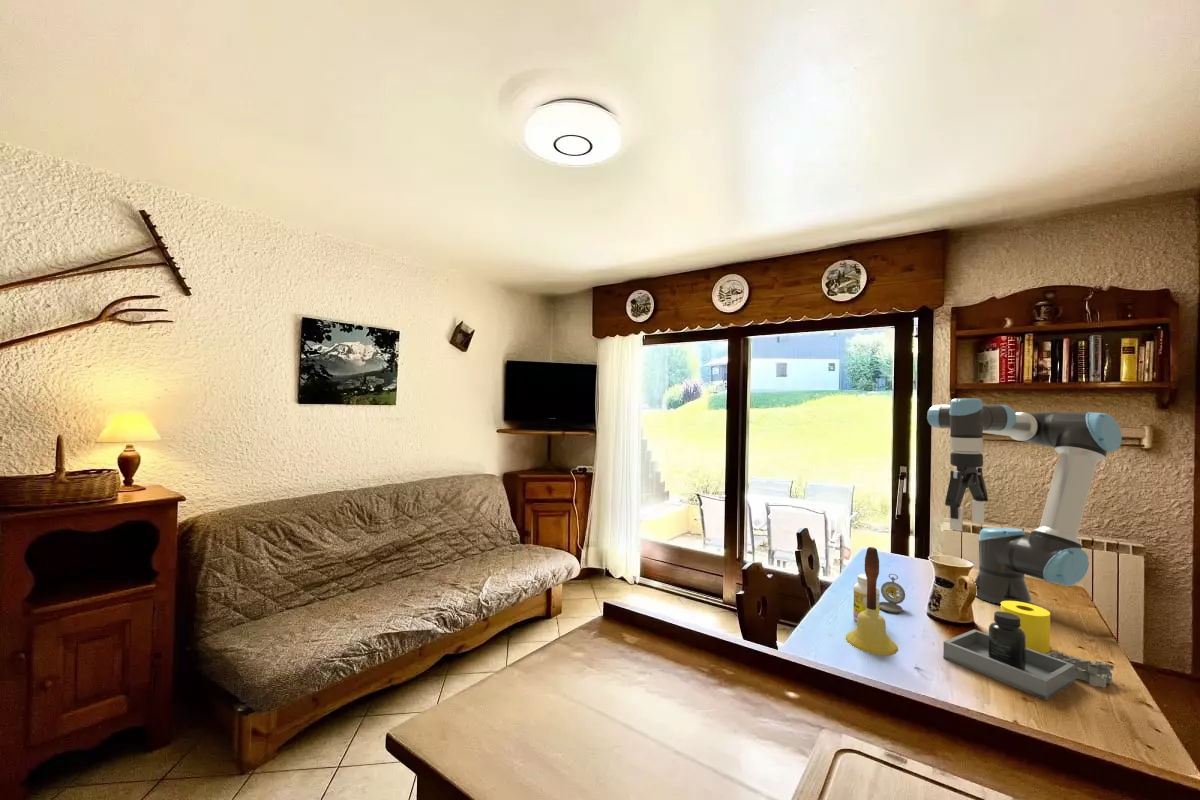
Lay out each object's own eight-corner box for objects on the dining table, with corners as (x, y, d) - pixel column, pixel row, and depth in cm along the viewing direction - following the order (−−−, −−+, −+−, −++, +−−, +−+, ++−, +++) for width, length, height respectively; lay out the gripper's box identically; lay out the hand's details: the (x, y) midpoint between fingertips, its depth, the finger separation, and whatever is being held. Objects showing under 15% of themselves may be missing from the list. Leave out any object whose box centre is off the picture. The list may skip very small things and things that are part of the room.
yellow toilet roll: (1016, 633, 137) (1017, 599, 137) (1059, 650, 128) (1059, 613, 128) (991, 637, 134) (991, 602, 134) (1032, 655, 125) (1033, 618, 125)
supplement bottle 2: (1002, 657, 122) (1003, 608, 122) (1033, 671, 115) (1033, 620, 115) (981, 660, 120) (981, 610, 120) (1010, 675, 113) (1011, 622, 114)
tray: (973, 644, 130) (974, 629, 130) (1074, 682, 112) (1074, 664, 112) (943, 657, 123) (943, 641, 123) (1046, 700, 105) (1046, 681, 105)
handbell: (842, 629, 137) (843, 539, 138) (892, 637, 133) (893, 544, 134) (848, 649, 126) (849, 551, 126) (903, 659, 122) (904, 557, 122)
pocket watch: (882, 612, 149) (882, 579, 149) (872, 602, 158) (872, 570, 158) (911, 615, 148) (912, 581, 148) (900, 604, 156) (900, 572, 156)
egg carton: (1117, 684, 113) (1117, 666, 113) (1100, 691, 110) (1101, 672, 110) (1058, 661, 122) (1059, 644, 122) (1042, 667, 119) (1042, 650, 119)
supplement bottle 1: (851, 614, 148) (852, 571, 148) (876, 618, 145) (877, 574, 145) (855, 623, 141) (855, 578, 141) (881, 627, 139) (881, 582, 139)
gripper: (971, 448, 150) (972, 518, 150) (930, 454, 137) (931, 530, 137) (1001, 450, 144) (1002, 523, 144) (960, 456, 131) (962, 536, 131)
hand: (967, 526), depth 141 cm, fingers open, 13 cm apart
